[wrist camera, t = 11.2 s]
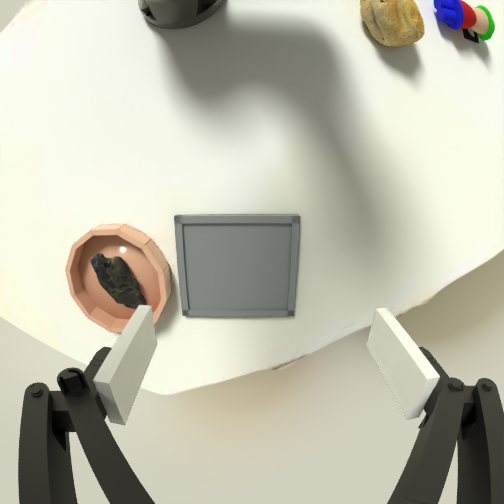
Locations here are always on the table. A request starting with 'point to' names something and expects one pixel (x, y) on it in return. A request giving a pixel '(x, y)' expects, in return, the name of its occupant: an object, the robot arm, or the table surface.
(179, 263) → the tray
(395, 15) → the stone
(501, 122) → the table surface
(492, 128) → the table surface
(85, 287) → the bowl
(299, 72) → the table surface
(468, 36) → the toy figure
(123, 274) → the stone
